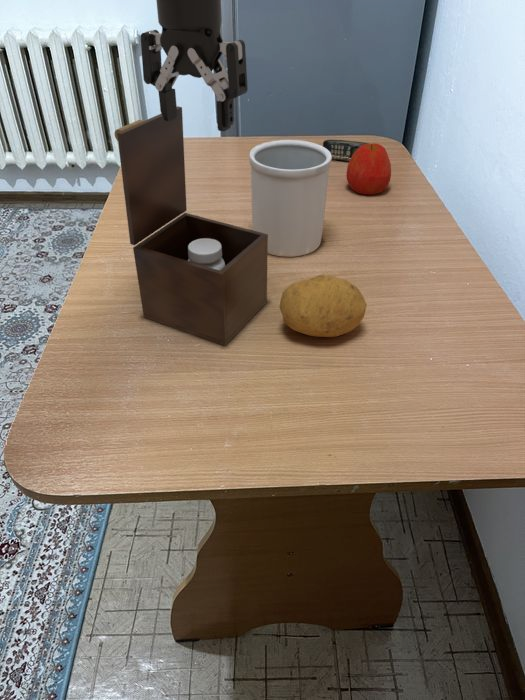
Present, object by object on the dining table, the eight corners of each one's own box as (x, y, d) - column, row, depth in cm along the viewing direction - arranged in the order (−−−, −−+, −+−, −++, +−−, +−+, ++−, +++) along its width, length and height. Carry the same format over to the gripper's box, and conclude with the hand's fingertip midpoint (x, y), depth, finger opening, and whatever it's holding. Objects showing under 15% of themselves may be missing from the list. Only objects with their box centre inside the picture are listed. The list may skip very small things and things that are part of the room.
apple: (364, 176, 138) (369, 133, 132) (398, 189, 133) (405, 144, 126) (336, 188, 133) (340, 143, 126) (370, 202, 127) (376, 155, 121)
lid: (182, 107, 82) (153, 100, 84) (121, 134, 73) (90, 125, 75) (186, 210, 93) (161, 202, 95) (134, 245, 84) (107, 236, 85)
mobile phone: (322, 141, 144) (381, 145, 141) (324, 137, 146) (383, 141, 143) (321, 160, 147) (379, 165, 144) (323, 156, 149) (380, 161, 146)
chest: (267, 302, 96) (268, 234, 88) (225, 346, 86) (221, 274, 78) (190, 278, 101) (184, 212, 93) (143, 317, 92) (132, 247, 84)
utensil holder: (329, 258, 107) (337, 168, 96) (251, 260, 107) (250, 169, 96) (319, 223, 119) (325, 139, 108) (248, 224, 118) (248, 139, 107)
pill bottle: (182, 305, 93) (176, 244, 86) (211, 292, 97) (208, 232, 89) (204, 322, 90) (200, 260, 83) (234, 307, 93) (232, 246, 86)
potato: (373, 300, 80) (364, 261, 87) (279, 304, 80) (278, 265, 87) (368, 348, 87) (360, 308, 93) (281, 351, 87) (279, 311, 94)
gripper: (257, -21, 65) (257, 125, 75) (157, -28, 70) (169, 109, 80) (223, -13, 59) (228, 142, 70) (117, -22, 65) (136, 124, 75)
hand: (196, 124), depth 75 cm, fingers open, 8 cm apart
